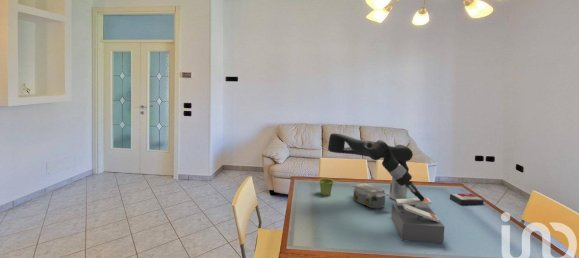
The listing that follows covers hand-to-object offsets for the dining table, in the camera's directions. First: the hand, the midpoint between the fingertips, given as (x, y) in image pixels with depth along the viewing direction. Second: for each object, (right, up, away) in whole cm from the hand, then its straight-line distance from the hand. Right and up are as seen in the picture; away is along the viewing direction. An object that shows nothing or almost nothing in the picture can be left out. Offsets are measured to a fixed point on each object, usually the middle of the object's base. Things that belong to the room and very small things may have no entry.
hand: (422, 199), depth 173 cm
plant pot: (-45, -6, +44) cm, 62 cm away
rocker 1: (-5, -1, +1) cm, 5 cm away
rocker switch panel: (-6, -13, -5) cm, 15 cm away
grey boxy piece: (-21, -8, +29) cm, 37 cm away
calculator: (+40, -9, +36) cm, 55 cm away
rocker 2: (-6, -3, -14) cm, 15 cm away
